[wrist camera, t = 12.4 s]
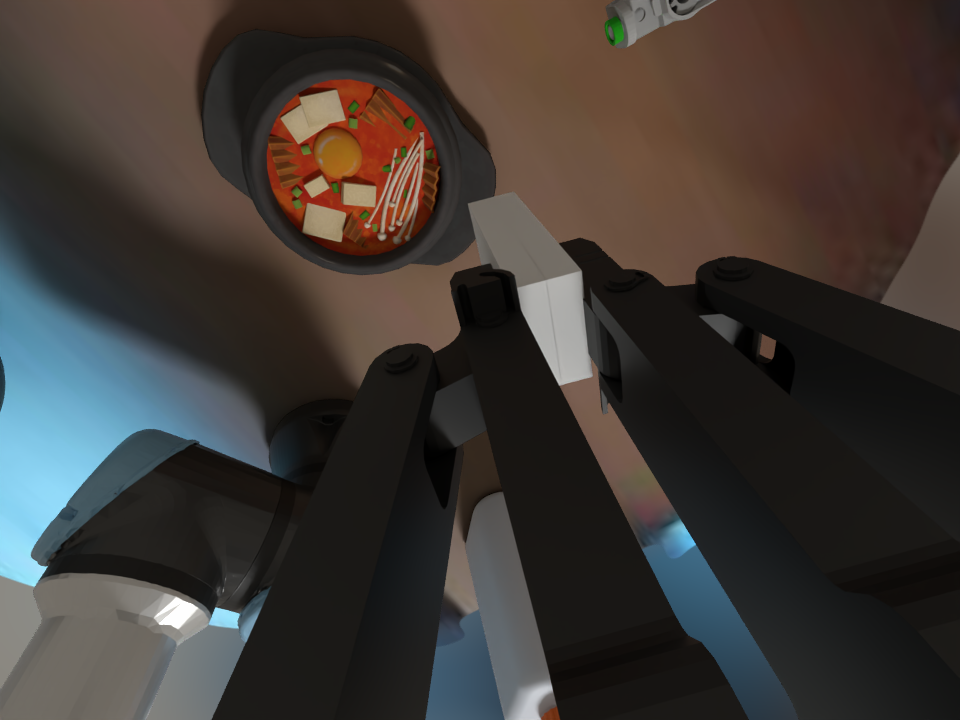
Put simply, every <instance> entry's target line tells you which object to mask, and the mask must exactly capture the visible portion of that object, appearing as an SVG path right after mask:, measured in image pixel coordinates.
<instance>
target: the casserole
mask: <svg viewBox="0 0 960 720" xmlns="http://www.w3.org/2000/svg"><path fill="white" fill-rule="evenodd" d="M201 117H202V127H203V138H204V142H205V145H206V148H207V151H208V155H209V158H210V160H211V161H212V163H213V164H214V166H215V167H216V169H217V170H218V172H219V173H220V175H221V176H222V177H223V178H225V179H226V180H227V181H228V182H230V183H231V184H232V185H233V186H235V187H236V188H237V189H238V190H240V191H241V192H243V193H244V194H245V195H247V196H248V197H249V198H251V199H252V200H253V202H254V205H255V207H256V209H257V211H258V213H259V214H260V216H261V217H262V218H263V220H264V221H265V223H266V224H267V225H268V227H269V228H270V230H271V231H272V232H273V233H274V234H275V235H276V236H277V237H278V238H279V239H280V240H281V241H282V242H283V243H284V244H285V245H286V246H287V247H289V248H290V249H292V250H293V251H294V252H296V253H297V254H299V255H300V256H301V257H303V258H304V259H306V260H308V261H310V262H313V263H315V264H317V265H319V266H321V267H323V268H326V269H330V270H333V271H337V272H340V273H347V274H356V275H369V274H381V273H385V272H389V271H393V270H396V269H399V268H402V267H404V266H406V265H408V264H410V263H413V264H425V265H436V266H437V265H441V264H444V263H447V262H450V261H452V260H453V259H455V258H456V257H458V256H459V255H460V254H462V253H463V252H464V251H465V250H466V249H467V248H468V247H469V246H470V244H471V243H472V242H473V241H474V240H475V239H476V237H475V233H474V229H473V224H472V220H471V215H470V211H469V206H468V203H472V202H476V201H480V200H484V199H487V198H491V197H494V193H495V188H496V169H495V166H494V163H493V160H492V157H491V154H490V153H489V152H488V151H487V149H486V148H485V147H484V146H483V145H482V144H481V143H480V142H479V141H478V140H477V139H476V137H475V136H474V135H473V134H472V133H471V132H470V131H469V130H468V129H467V128H466V127H465V125H464V124H463V123H462V122H461V120H460V119H459V117H458V115H457V114H456V112H455V111H454V109H453V107H452V106H451V104H450V103H449V101H448V100H447V98H446V96H445V95H444V93H443V92H442V90H441V89H440V87H439V86H438V84H437V83H436V82H435V81H434V80H433V79H432V78H431V77H430V76H429V74H428V73H427V72H426V71H425V70H424V69H423V68H422V67H421V66H420V65H418V64H417V63H416V62H414V61H413V60H411V59H410V58H409V57H407V56H406V55H404V54H403V53H402V52H400V51H398V50H396V49H393V48H391V47H389V46H387V45H384V44H382V43H380V42H378V41H373V40H369V39H364V38H359V37H354V36H342V37H311V38H304V37H299V36H294V35H289V34H284V33H279V32H272V31H265V30H259V29H255V30H251V31H248V32H245V33H242V34H239V35H237V36H236V37H235V38H234V39H233V40H232V41H230V42H229V43H228V44H227V45H226V46H225V47H224V48H223V49H222V51H221V53H220V54H219V56H218V58H217V59H216V61H215V63H214V64H213V66H212V68H211V70H210V73H209V76H208V79H207V82H206V85H205V88H204V93H203V103H202V114H201Z"/></svg>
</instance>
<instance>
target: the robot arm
mask: <svg viewBox="0 0 960 720" xmlns="http://www.w3.org/2000/svg"><path fill="white" fill-rule="evenodd" d="M468 206H469V211H470V215H471V220H472V224H473V229H474V233H475V237H476V242H477V246H478V251H479V255H480V260H481V264H482V265H481V266H477V267H474V268H470V269H466V270H462V271H458V272H455V274H454V275H453V277H452V279H451V281H450V285H451V289H452V290H451V294H452V298H453V301H454V305H455V309H456V312H457V316H458V320H459V323H460V327H461V331H460V333H459V335H458V336H457V338H456V339H455V340H454V341H453V342H452V343H450V344H449V345H448V346H446V347H444V348H442V349H441V350H439V351H437V352H435V353H433V351H432V350H431V349H430V348H429V347H428V346H426V345H422V344H419V343H416V344H404V345H398V346H395V347H392V348H390V349H388V350H386V351H385V352H383V353H382V354H381V355H379V356H378V357H377V358H375V360H374V361H373V362H372V364H371V365H370V366H369V369H368V371H367V373H366V375H365V378H364V380H363V382H362V384H361V387H360V389H359V391H358V393H357V396H356V398H355V400H354V402H352V401H347V400H321V401H316V402H312V403H309V404H306V405H303V406H301V407H299V408H297V409H295V410H293V411H292V412H290V413H289V414H288V415H287V416H285V417H284V418H283V419H282V421H281V422H280V423H279V425H278V426H277V428H276V430H275V432H274V435H273V438H272V442H271V445H270V449H269V463H270V467H271V470H272V473H270V472H267V471H265V470H262V469H260V468H257V467H255V466H252V465H250V464H247V463H245V462H242V461H240V460H237V459H235V458H232V457H230V456H227V455H225V454H222V453H220V452H217V451H215V450H212V449H210V448H207V447H205V446H203V445H200V444H199V442H198V441H196V440H186V439H183V438H180V437H178V436H175V435H172V434H169V433H166V432H163V431H161V430H156V429H145V430H141V431H138V432H136V433H134V434H132V435H130V436H129V437H128V438H126V439H125V440H124V441H123V442H122V443H121V444H119V445H118V446H117V447H116V448H115V449H114V450H113V451H112V452H111V453H110V454H109V455H108V457H107V458H106V459H105V460H104V461H103V462H102V463H101V464H100V465H99V466H98V467H97V468H96V469H95V471H94V472H93V473H92V474H91V475H90V476H89V477H88V478H87V480H86V481H85V482H84V483H83V484H82V485H81V487H80V488H79V489H78V490H77V491H76V492H75V494H74V495H73V496H72V497H71V499H70V500H69V501H68V503H67V505H66V507H65V508H63V509H62V510H61V512H60V513H59V514H58V516H57V517H56V518H55V519H54V520H53V521H52V522H51V523H50V524H49V526H48V527H47V528H46V530H45V531H44V532H43V534H42V535H41V537H40V538H39V539H38V541H37V542H36V544H35V546H34V548H33V550H32V552H31V557H32V558H33V559H34V560H36V561H37V562H38V564H39V565H41V566H48V567H47V569H46V571H45V572H44V574H43V575H42V577H41V578H40V580H39V581H38V583H37V584H36V586H35V587H34V590H33V595H34V598H35V600H36V603H37V606H38V609H39V611H40V614H41V617H42V622H41V624H40V626H39V627H38V630H37V631H36V632H35V634H34V636H33V637H32V639H31V640H30V642H29V644H28V645H27V647H26V649H25V650H24V652H23V654H22V655H21V657H20V658H19V660H18V662H17V664H16V665H15V667H14V668H13V670H12V672H11V673H10V675H9V676H8V678H7V680H6V681H5V683H4V684H3V686H2V688H1V689H0V720H146V719H147V716H148V714H149V711H150V709H151V707H152V705H153V702H154V700H155V697H156V695H157V693H158V690H159V688H160V685H161V683H162V680H163V678H164V676H165V674H166V671H167V668H168V666H169V664H170V661H171V659H172V656H173V654H174V652H175V650H176V648H177V647H178V646H179V645H180V644H181V643H182V642H183V641H185V640H187V639H188V638H190V637H191V636H193V635H194V634H196V633H197V632H199V631H201V630H202V629H204V628H206V626H207V625H208V624H209V622H210V619H211V617H212V614H213V612H214V609H215V607H217V608H221V609H225V610H229V611H232V612H236V613H239V614H240V616H239V619H238V626H239V634H240V637H241V639H242V640H243V641H244V642H246V644H245V646H244V648H243V651H242V653H241V655H240V658H239V660H238V662H237V664H236V666H235V669H234V671H233V673H232V675H231V677H230V680H229V682H228V684H227V686H226V689H225V691H224V693H223V695H222V698H221V700H220V702H219V704H218V707H217V709H216V711H215V713H214V715H213V718H212V720H425V718H426V711H427V705H428V698H429V691H430V684H431V676H432V669H433V663H434V656H435V649H436V642H437V635H438V628H439V621H440V614H441V607H442V600H443V594H444V587H445V580H446V573H447V566H448V559H449V552H450V545H451V538H452V531H453V524H454V517H455V510H456V503H457V496H458V489H459V483H460V476H461V469H462V462H463V455H464V451H463V443H464V442H466V441H468V440H470V439H472V438H474V437H475V436H477V435H479V434H481V433H483V432H484V431H486V430H487V432H488V436H489V440H490V444H491V448H492V452H493V456H494V460H495V463H496V467H497V471H498V475H499V479H500V483H501V487H502V491H503V495H504V499H505V503H506V506H507V510H508V514H509V518H510V522H511V526H512V530H513V534H514V538H515V542H516V545H517V549H518V553H519V557H520V561H521V565H522V569H523V573H524V577H525V581H526V585H527V588H528V592H529V596H530V600H531V604H532V608H533V612H534V616H535V620H536V624H537V627H538V631H539V635H540V639H541V643H542V647H543V651H544V655H545V659H546V663H547V667H548V671H549V675H550V680H551V685H552V689H553V693H554V697H555V701H556V705H557V709H558V713H559V717H560V720H749V719H748V717H747V715H746V714H745V712H744V710H743V708H742V706H741V704H740V702H739V701H738V699H737V697H736V695H735V693H734V691H733V689H732V687H731V686H730V684H729V682H728V680H727V679H726V677H725V675H724V674H723V672H722V670H721V669H720V667H719V665H718V664H717V662H716V660H715V659H714V657H713V656H712V655H711V653H710V652H709V651H708V650H707V649H706V647H705V646H704V645H703V644H702V642H700V641H698V640H696V639H694V638H692V637H690V636H688V634H687V633H686V632H685V631H684V629H683V628H682V626H681V625H680V623H679V621H678V619H677V618H676V616H675V614H674V612H673V610H672V608H671V606H670V604H669V602H668V600H667V598H666V596H665V594H664V592H663V590H662V588H661V586H660V585H659V582H658V580H657V578H656V576H655V574H654V572H653V570H652V568H651V566H650V564H649V562H648V561H647V559H646V557H645V555H644V553H643V551H642V549H641V547H640V545H639V543H638V541H637V539H636V537H635V535H634V533H633V531H632V529H631V527H630V525H629V523H628V521H627V519H626V517H625V515H624V513H623V511H622V509H621V507H620V505H619V503H618V501H617V499H616V497H615V495H614V493H613V491H612V489H611V487H610V485H609V483H608V481H607V479H606V477H605V475H604V473H603V471H602V469H601V467H600V465H599V463H598V461H597V459H596V458H595V456H594V454H593V452H592V450H591V448H590V446H589V444H588V442H587V440H586V438H585V436H584V434H583V432H582V430H581V428H580V426H579V424H578V422H577V420H576V418H575V416H574V414H573V412H572V410H571V408H570V406H569V404H568V402H567V400H566V398H565V396H564V394H563V392H562V390H561V388H560V386H559V385H563V384H567V383H570V382H574V381H578V380H581V379H585V378H589V377H593V375H592V365H591V358H592V360H593V361H594V363H595V364H596V366H597V368H598V376H599V386H600V397H601V408H602V412H603V414H606V413H608V409H607V405H608V403H610V405H611V406H612V408H613V409H614V411H615V413H616V414H617V416H618V418H619V419H620V421H621V423H622V424H623V426H624V427H625V429H626V431H627V432H628V434H629V436H630V437H631V439H632V440H633V442H634V444H635V445H636V447H637V449H638V450H639V452H640V454H641V455H642V457H643V458H644V460H645V462H646V463H647V465H648V467H649V468H650V470H651V472H652V473H653V475H654V476H655V478H656V480H657V481H658V483H659V485H660V486H661V488H662V489H663V491H664V493H665V494H666V496H667V498H668V499H669V501H670V503H671V504H672V506H673V507H674V509H675V511H676V512H677V514H678V516H679V517H680V519H681V521H682V522H683V524H684V525H685V527H686V529H687V530H688V532H689V534H690V535H691V537H692V538H693V540H694V542H695V543H696V545H697V546H698V548H699V550H700V551H701V553H702V555H703V556H704V558H705V559H706V561H707V563H708V565H709V566H710V568H711V569H712V571H713V573H714V574H715V576H716V578H717V579H718V581H719V582H720V584H721V586H722V587H723V589H724V591H725V592H726V594H727V595H728V597H729V599H730V601H731V602H732V604H733V605H734V607H735V608H736V610H737V612H738V614H739V615H740V617H741V619H742V620H743V622H744V623H745V625H746V627H747V628H748V630H749V632H750V633H751V635H752V636H753V638H754V640H755V641H756V643H757V644H758V646H759V648H760V649H761V651H762V653H763V654H764V656H765V658H766V659H767V661H768V662H769V664H770V666H771V667H772V669H773V671H774V672H775V674H776V676H777V677H778V679H779V681H780V682H781V684H782V685H783V687H784V689H785V690H786V692H787V694H788V696H789V697H790V700H791V701H792V703H793V706H794V708H795V710H796V713H797V715H798V719H799V720H960V331H958V330H956V329H953V328H950V327H947V326H944V325H941V324H938V323H936V322H932V321H930V320H927V319H924V318H921V317H918V316H915V315H913V314H910V313H907V312H904V311H901V310H898V309H895V308H893V307H890V306H887V305H884V304H881V303H878V302H875V301H873V300H870V299H867V298H864V297H861V296H858V295H855V294H852V293H850V292H847V291H844V290H841V289H838V288H835V287H832V286H830V285H827V284H824V283H821V282H818V281H815V280H812V279H810V278H807V277H804V276H801V275H798V274H795V273H792V272H789V271H787V270H784V269H781V268H778V267H775V266H772V265H769V264H767V263H764V262H761V261H758V260H753V259H749V258H738V257H735V256H730V257H727V258H725V257H722V258H718V259H716V260H712V261H709V262H706V263H705V264H703V265H701V266H700V267H699V268H698V270H697V271H696V281H695V284H690V285H679V286H664V285H663V284H662V283H661V282H659V281H658V280H657V279H656V278H655V277H654V276H653V275H651V274H649V273H647V272H645V271H641V270H635V269H622V268H621V267H620V266H619V265H618V264H617V263H616V262H615V261H614V260H613V259H611V258H610V257H608V255H607V254H606V253H605V252H604V251H602V249H601V248H600V247H599V246H598V245H597V244H596V243H595V242H592V241H589V240H586V239H583V238H577V239H574V240H570V241H566V242H562V243H559V244H558V242H557V241H556V240H555V239H554V238H553V237H552V235H551V234H550V233H549V232H548V231H547V230H546V228H545V227H544V226H543V225H542V224H541V223H540V221H539V220H538V219H537V218H536V217H535V216H534V214H533V213H532V212H531V211H530V210H529V209H528V208H527V206H526V205H525V204H524V203H523V202H522V201H521V199H520V198H519V197H518V196H517V195H516V194H515V192H510V193H506V194H503V195H499V196H495V197H491V198H487V199H484V200H480V201H476V202H472V203H468ZM762 334H764V335H766V336H768V337H770V338H772V339H774V340H776V346H775V353H774V357H773V359H772V360H771V359H768V358H765V357H764V356H762V355H760V347H761V339H762Z"/></svg>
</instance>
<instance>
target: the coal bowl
mask: <svg viewBox="0 0 960 720" xmlns="http://www.w3.org/2000/svg"><path fill="white" fill-rule="evenodd" d="M4 394H5V374H4V367H3V363H2V360H1V357H0V411H1V408H2V404H3V400H4Z"/></svg>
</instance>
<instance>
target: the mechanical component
mask: <svg viewBox="0 0 960 720" xmlns="http://www.w3.org/2000/svg"><path fill="white" fill-rule="evenodd" d="M714 1H716V0H615V1H613V2H611V3H610V4H608V5H607V6H606V11H607V15H608V19H609V20H608V21H606V22H605V32H606V36H607V39H608V41H609V42H610V44H611V45H612V46H614V45H616V48H626V47H628V46H630V45H632V44H633V43H635V41H636V40H637V39H639V38H641V37H642V36H644V35H646V34H648V33H649V32H651V31H653V30H655V29H656V28H658V27H661V26H666V25H668V24H670V23H671V22H673V21H677V20H685V19H688V18H690V17H692V16H693V15H695V14H696V13H697V12H698V11H699V10H700V9H702V8H703V7H705V6H707V5H709V4H710V3H712V2H714Z"/></svg>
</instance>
